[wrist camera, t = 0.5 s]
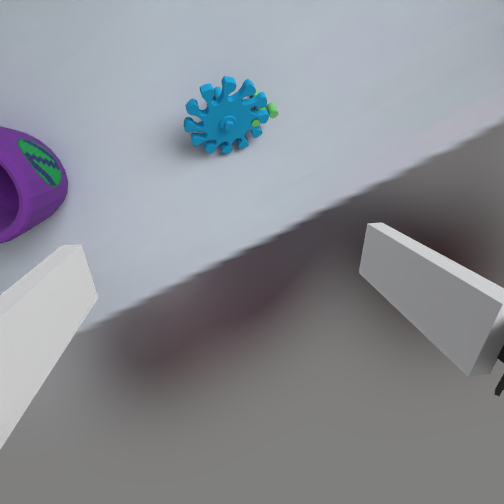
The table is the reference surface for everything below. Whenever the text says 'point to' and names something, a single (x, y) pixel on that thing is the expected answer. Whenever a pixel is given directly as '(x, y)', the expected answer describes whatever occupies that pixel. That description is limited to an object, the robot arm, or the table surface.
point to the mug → (27, 183)
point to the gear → (228, 115)
